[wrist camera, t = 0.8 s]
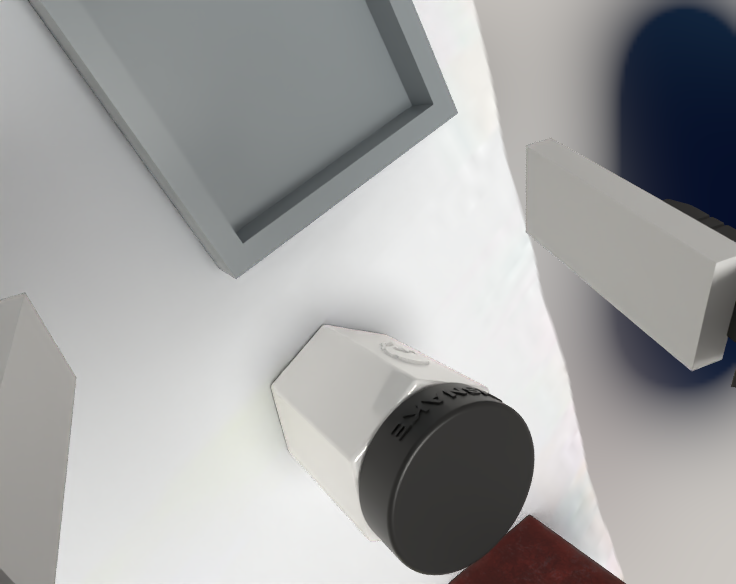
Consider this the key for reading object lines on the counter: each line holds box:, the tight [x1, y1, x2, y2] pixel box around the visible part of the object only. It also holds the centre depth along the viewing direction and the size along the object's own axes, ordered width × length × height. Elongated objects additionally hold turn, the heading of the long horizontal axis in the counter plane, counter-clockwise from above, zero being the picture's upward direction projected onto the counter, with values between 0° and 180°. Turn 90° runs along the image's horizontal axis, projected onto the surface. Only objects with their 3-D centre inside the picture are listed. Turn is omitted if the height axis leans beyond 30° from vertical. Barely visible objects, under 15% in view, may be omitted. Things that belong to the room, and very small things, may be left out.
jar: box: [271, 325, 534, 575], centre depth 31 cm, size 9×8×12 cm
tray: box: [28, 0, 458, 279], centre depth 28 cm, size 15×15×3 cm
